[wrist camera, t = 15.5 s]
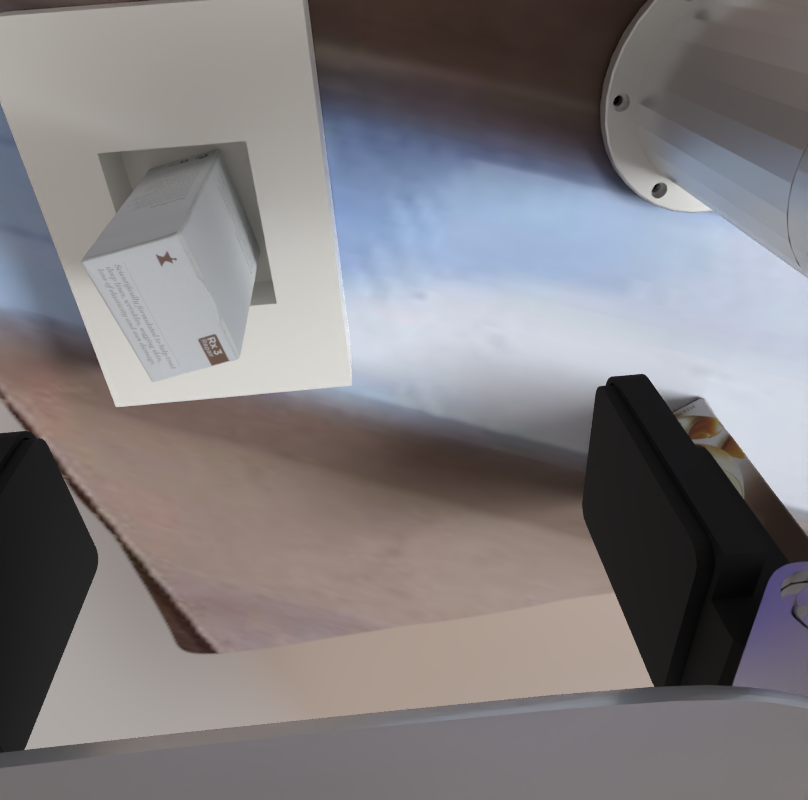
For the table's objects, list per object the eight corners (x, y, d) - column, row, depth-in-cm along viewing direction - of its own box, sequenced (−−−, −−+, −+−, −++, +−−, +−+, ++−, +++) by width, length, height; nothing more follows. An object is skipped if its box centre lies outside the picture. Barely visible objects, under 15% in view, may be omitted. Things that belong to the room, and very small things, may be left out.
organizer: (306, -12, 31) (301, -8, 28) (351, 351, 43) (352, 385, 39) (8, 11, 31) (-32, 18, 28) (133, 371, 42) (116, 407, 39)
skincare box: (145, 168, 35) (64, 257, 25) (225, 144, 34) (176, 224, 24) (195, 273, 38) (142, 388, 28) (269, 253, 38) (241, 362, 28)
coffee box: (702, 392, 47) (843, 567, 33) (732, 447, 50) (871, 628, 37) (586, 455, 49) (674, 641, 36) (621, 504, 52) (714, 692, 39)
